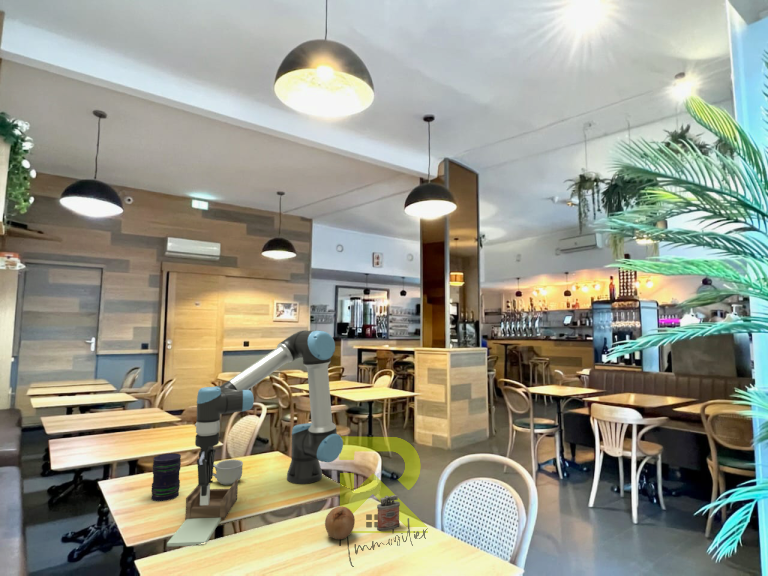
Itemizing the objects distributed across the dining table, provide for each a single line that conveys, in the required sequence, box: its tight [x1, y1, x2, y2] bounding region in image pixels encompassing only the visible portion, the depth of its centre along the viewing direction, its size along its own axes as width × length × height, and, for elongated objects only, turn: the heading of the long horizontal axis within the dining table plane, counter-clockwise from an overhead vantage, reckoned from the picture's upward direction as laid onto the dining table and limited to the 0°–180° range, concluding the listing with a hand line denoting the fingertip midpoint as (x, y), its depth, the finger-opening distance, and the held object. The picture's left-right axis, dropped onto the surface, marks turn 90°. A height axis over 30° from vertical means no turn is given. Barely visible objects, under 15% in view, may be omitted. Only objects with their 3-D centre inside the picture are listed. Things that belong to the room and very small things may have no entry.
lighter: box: [376, 494, 401, 532], centre depth 145 cm, size 8×3×10 cm, turn 115°
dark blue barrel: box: [151, 452, 182, 502], centre depth 170 cm, size 10×10×15 cm
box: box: [184, 479, 239, 521], centre depth 158 cm, size 18×13×8 cm
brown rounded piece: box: [324, 506, 356, 541], centre depth 138 cm, size 10×9×10 cm
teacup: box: [212, 459, 244, 486], centre depth 185 cm, size 14×11×8 cm
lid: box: [166, 518, 222, 547], centre depth 140 cm, size 17×11×2 cm, turn 6°
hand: (204, 504), depth 148 cm, fingers closed
